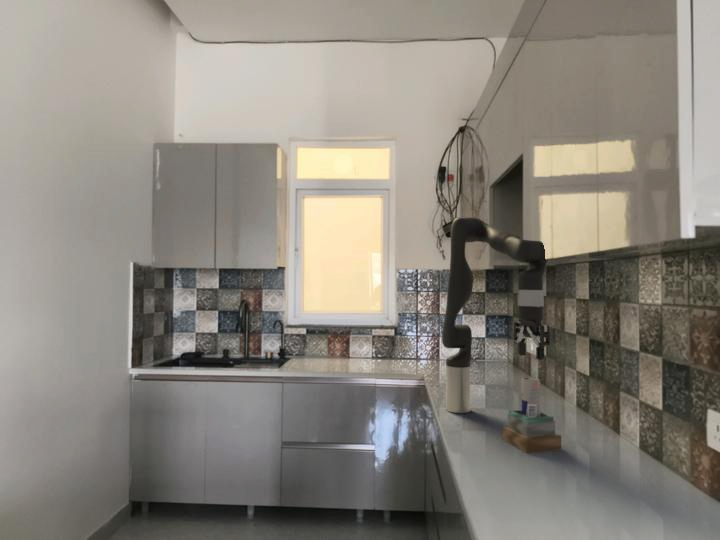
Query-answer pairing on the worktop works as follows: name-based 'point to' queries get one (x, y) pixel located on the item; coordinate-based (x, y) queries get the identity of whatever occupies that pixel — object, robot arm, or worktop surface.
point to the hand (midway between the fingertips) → (530, 357)
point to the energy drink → (530, 397)
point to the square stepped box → (531, 432)
